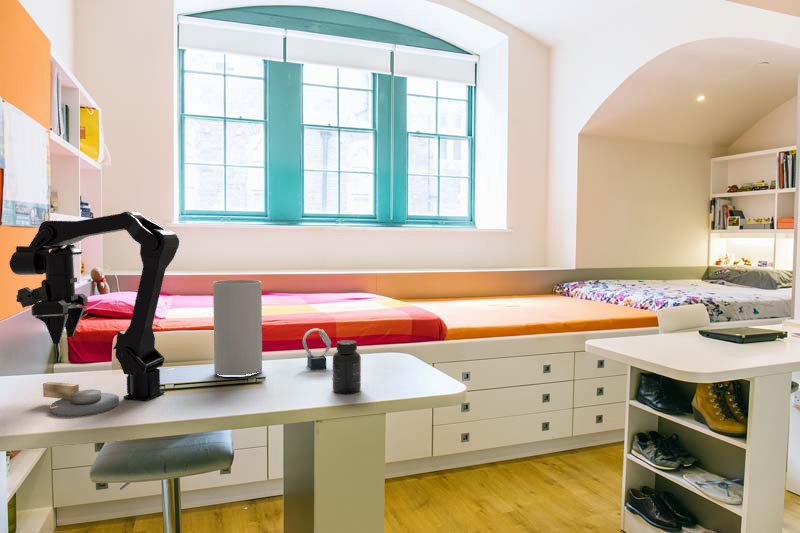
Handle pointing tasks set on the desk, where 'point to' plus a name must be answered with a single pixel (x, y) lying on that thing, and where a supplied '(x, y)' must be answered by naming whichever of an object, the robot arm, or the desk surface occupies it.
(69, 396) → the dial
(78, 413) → the dial plate
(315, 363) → the watch
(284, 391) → the desk surface
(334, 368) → the supplement bottle
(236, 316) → the cylinder vase
